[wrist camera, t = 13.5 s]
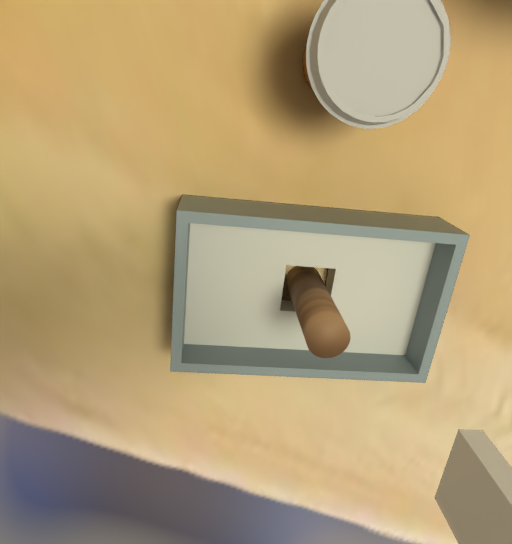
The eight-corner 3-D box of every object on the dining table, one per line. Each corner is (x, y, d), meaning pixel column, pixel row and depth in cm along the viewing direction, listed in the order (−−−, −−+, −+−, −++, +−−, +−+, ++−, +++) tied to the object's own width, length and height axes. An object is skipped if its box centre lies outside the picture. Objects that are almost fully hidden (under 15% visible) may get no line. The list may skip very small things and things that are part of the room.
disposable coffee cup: (392, 110, 41) (456, 117, 30) (290, 126, 41) (317, 140, 30) (389, -10, 37) (460, -51, 26) (277, 8, 37) (301, -26, 26)
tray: (176, 339, 48) (170, 371, 43) (182, 194, 42) (176, 210, 37) (403, 350, 51) (425, 382, 46) (439, 217, 45) (469, 234, 40)
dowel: (289, 262, 46) (311, 317, 35) (322, 266, 46) (354, 321, 35) (283, 293, 47) (302, 356, 36) (316, 297, 48) (345, 359, 37)
